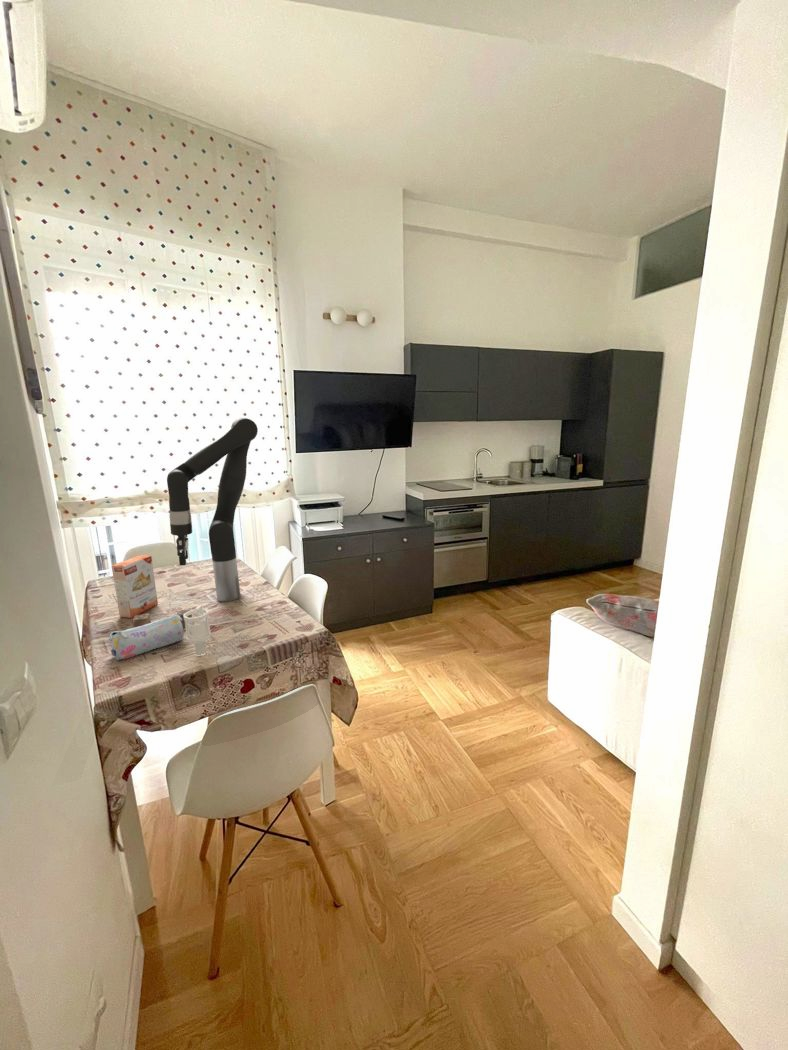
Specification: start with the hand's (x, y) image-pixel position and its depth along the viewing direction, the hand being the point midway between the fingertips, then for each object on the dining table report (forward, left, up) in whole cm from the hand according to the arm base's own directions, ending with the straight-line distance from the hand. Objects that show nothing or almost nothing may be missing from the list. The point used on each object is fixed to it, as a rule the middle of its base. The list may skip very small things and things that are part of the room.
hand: (184, 561), depth 169 cm
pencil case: (+9, +34, -19) cm, 39 cm away
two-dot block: (0, +18, -19) cm, 26 cm away
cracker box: (+18, -2, -19) cm, 26 cm away
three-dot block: (+14, +16, -19) cm, 28 cm away
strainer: (-7, +44, -19) cm, 48 cm away
